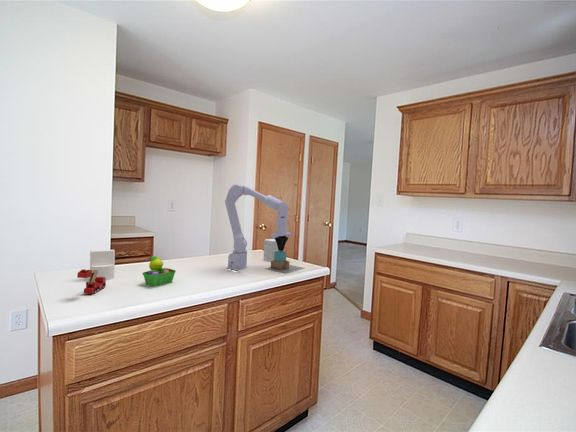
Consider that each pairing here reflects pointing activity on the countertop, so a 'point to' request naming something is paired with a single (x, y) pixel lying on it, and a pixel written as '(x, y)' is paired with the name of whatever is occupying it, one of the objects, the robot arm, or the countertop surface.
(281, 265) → the base brick
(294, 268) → the baseplate
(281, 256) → the teal block
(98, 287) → the toy fire truck
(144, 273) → the fruit basket
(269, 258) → the small box
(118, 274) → the countertop surface
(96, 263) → the base with upright slab
